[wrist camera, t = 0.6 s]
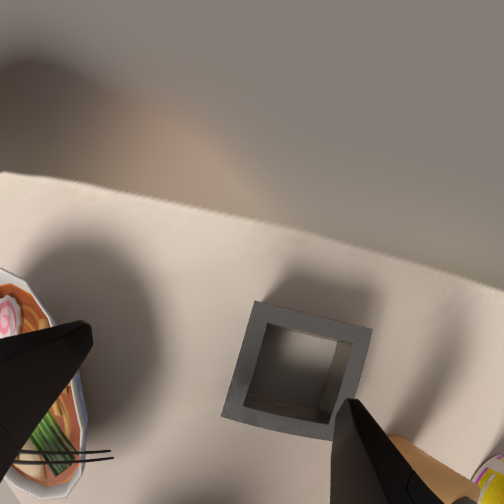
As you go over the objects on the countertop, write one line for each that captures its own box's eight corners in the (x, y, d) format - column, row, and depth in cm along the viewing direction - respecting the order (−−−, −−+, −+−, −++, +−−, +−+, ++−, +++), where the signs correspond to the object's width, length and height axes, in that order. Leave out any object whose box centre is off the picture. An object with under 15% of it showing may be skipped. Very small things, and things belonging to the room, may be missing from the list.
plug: (410, 457, 18) (501, 520, 4) (373, 477, 18) (446, 562, 4) (402, 427, 19) (505, 484, 5) (363, 448, 19) (444, 534, 5)
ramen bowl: (100, 249, 26) (50, 219, 18) (175, 473, 19) (142, 516, 11) (-21, 314, 24) (-62, 304, 16) (23, 472, 18) (-16, 485, 10)
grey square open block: (354, 330, 22) (372, 328, 18) (327, 424, 20) (338, 441, 16) (257, 307, 23) (254, 300, 19) (229, 401, 21) (220, 416, 17)
